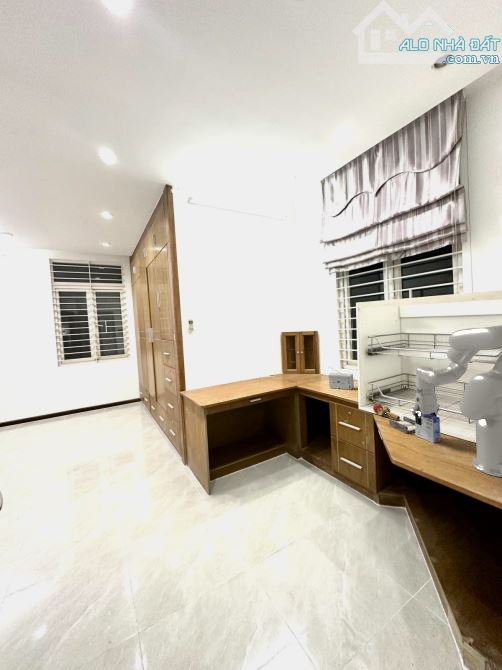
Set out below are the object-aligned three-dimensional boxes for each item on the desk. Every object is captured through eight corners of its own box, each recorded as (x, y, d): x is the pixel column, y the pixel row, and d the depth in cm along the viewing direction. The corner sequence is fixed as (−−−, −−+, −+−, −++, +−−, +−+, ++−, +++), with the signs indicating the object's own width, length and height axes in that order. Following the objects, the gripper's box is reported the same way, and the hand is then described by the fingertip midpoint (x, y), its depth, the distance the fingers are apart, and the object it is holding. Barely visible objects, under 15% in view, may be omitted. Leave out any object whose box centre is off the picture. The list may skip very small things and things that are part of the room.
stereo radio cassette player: (354, 388, 231) (352, 366, 230) (351, 390, 224) (350, 368, 223) (331, 386, 244) (329, 365, 242) (328, 388, 237) (326, 367, 236)
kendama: (403, 420, 160) (379, 408, 176) (402, 411, 158) (378, 400, 174) (394, 425, 157) (370, 412, 173) (393, 416, 155) (369, 404, 172)
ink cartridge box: (441, 440, 130) (440, 412, 129) (434, 443, 128) (432, 415, 127) (422, 433, 139) (420, 407, 138) (415, 436, 137) (413, 409, 136)
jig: (422, 430, 143) (422, 423, 142) (406, 433, 140) (406, 427, 140) (405, 422, 154) (404, 416, 154) (389, 425, 152) (389, 419, 151)
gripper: (418, 395, 126) (419, 428, 128) (445, 390, 131) (446, 422, 132) (405, 391, 134) (406, 422, 135) (431, 386, 138) (432, 417, 139)
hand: (426, 422), depth 134 cm, fingers open, 9 cm apart
